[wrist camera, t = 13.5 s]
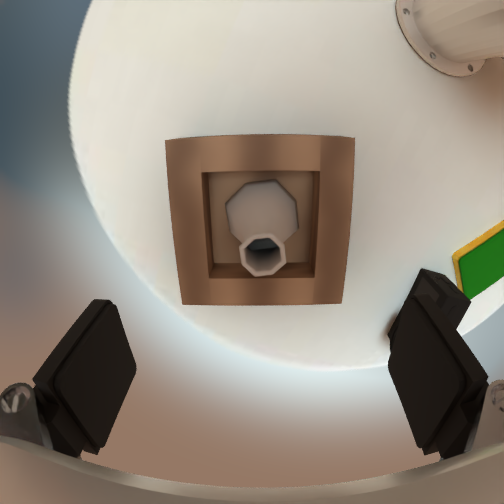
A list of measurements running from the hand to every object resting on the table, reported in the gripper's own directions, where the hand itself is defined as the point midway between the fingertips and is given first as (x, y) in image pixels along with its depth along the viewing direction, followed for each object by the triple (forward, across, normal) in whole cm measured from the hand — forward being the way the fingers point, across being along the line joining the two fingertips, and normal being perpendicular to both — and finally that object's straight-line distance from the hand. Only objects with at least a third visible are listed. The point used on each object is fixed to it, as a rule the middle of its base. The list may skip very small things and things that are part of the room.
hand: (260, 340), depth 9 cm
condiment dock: (+22, 0, +3) cm, 23 cm away
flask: (+22, 0, +2) cm, 22 cm away
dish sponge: (+24, -31, +8) cm, 40 cm away
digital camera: (+23, -19, +15) cm, 33 cm away
